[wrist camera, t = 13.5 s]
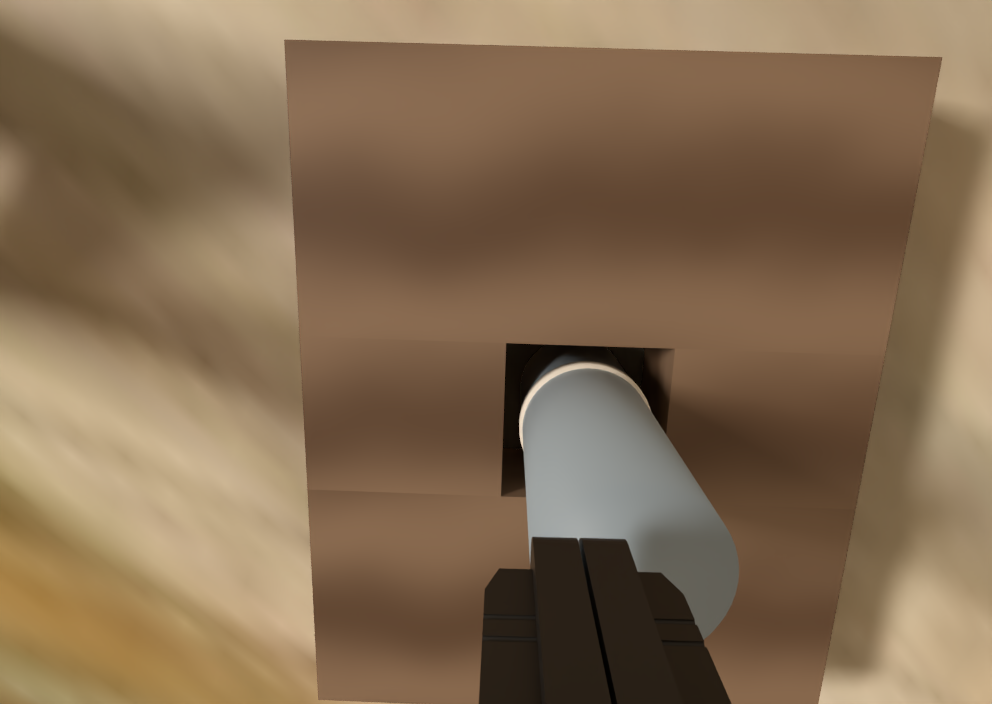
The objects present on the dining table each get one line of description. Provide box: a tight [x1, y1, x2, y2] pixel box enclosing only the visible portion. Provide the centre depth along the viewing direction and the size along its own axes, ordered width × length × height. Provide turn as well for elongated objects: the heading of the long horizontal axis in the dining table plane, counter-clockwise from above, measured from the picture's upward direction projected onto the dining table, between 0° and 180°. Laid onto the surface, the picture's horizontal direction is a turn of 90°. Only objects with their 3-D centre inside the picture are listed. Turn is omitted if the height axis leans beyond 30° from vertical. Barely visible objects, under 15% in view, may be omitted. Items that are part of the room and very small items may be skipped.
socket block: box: [284, 40, 942, 704], centre depth 22 cm, size 22×18×4 cm
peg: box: [519, 344, 739, 640], centre depth 18 cm, size 4×4×12 cm
